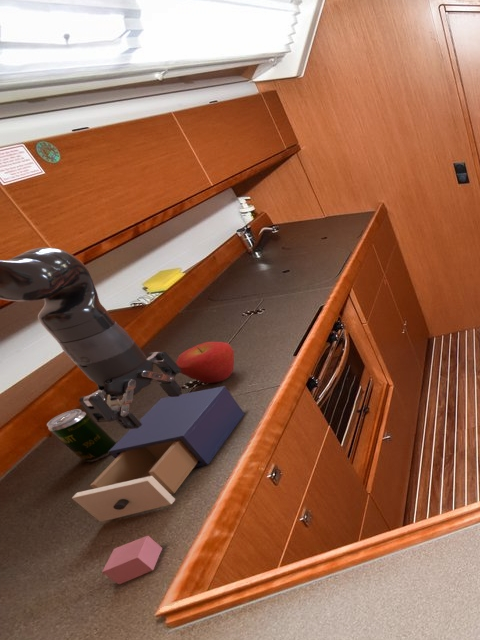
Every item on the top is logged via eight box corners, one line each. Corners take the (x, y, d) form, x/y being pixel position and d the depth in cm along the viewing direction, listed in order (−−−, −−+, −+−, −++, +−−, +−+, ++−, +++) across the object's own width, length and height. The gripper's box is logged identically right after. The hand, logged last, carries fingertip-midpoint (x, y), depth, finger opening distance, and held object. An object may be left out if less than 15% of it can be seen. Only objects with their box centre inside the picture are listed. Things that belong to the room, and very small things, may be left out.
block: (118, 584, 71) (101, 572, 69) (129, 561, 75) (114, 548, 72) (153, 570, 73) (137, 557, 71) (162, 548, 76) (148, 535, 74)
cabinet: (208, 464, 92) (182, 435, 87) (138, 480, 89) (107, 451, 84) (244, 413, 105) (224, 385, 101) (185, 425, 102) (161, 397, 98)
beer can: (102, 444, 98) (66, 409, 92) (125, 442, 98) (90, 407, 92) (76, 463, 93) (36, 428, 87) (100, 462, 94) (62, 426, 88)
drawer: (167, 510, 82) (143, 486, 78) (94, 527, 79) (65, 504, 75) (214, 447, 95) (194, 424, 91) (153, 460, 92) (130, 437, 89)
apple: (188, 398, 111) (161, 364, 105) (202, 375, 119) (178, 342, 113) (240, 383, 115) (217, 350, 109) (250, 362, 124) (229, 330, 118)
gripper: (123, 328, 82) (171, 387, 90) (36, 377, 70) (100, 440, 78) (161, 326, 83) (205, 385, 91) (80, 375, 70) (140, 438, 78)
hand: (156, 410), depth 84 cm, fingers open, 8 cm apart
